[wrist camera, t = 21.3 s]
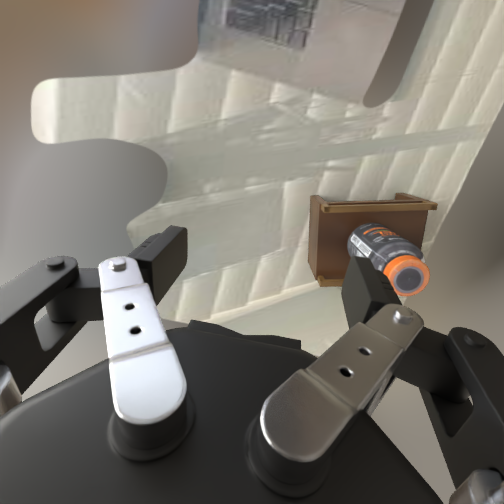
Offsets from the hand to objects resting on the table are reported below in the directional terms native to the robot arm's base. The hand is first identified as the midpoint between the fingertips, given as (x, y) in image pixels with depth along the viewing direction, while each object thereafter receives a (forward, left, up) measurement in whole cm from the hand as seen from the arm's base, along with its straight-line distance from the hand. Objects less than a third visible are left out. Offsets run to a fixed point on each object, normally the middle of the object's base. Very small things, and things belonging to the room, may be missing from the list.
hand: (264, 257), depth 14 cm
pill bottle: (+7, +14, -24) cm, 29 cm away
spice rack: (+7, +14, -31) cm, 35 cm away
